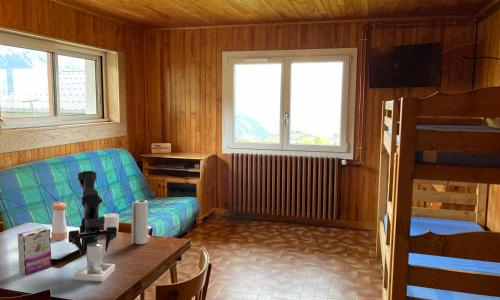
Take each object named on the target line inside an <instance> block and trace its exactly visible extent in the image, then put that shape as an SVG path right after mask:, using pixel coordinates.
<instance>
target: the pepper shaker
mask: <svg viewBox="0 0 500 300" xmlns="http://www.w3.org/2000/svg"><path fill="white" fill-rule="evenodd" d="M50 209H51V210H52V223H51V231H50V240H51V241H63V240H66V239H68V230H67V221H66V209H67V204H66V203H65V202H61V201H56V202H54V203H52V204H51V206H50Z"/></svg>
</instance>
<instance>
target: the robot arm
mask: <svg viewBox="0 0 500 300" xmlns="http://www.w3.org/2000/svg"><path fill="white" fill-rule="evenodd" d="M97 176H98V175H97V172H96V171H93V170H84V171H80V172H78V173H77V182H79V187H80V188H81V189H82V190H83V191H82V196H81V199H80V201H81V202H80V204H81V206H82V207H83V215H84V216H83V218H82V220H81V223H80V225H79V229H76V230H69V231H68V233H67V239H68V243H70V244H72V245H75V246H76V247H77V249H78V251H79V254H80V255H81V256H83V255H84V253H83V252H87V244H89V243H94V242H99V239H98V238H99V237H101V236H105V248H104V249H105V253H107V252H108V249H109V245H110V242H111V241H114V239H116V238H117V228H116V227H107V230H106V231H104V230H101V228H102V227H101V225H104V224H105V219H104V215H103V216H100V214H99V211H100V205H101V203H103V200H102V197H101V196H100V195H99V192H98V190H96V189H95V184H96V181H97V180H98V179H97ZM82 248H83V249H82Z"/></svg>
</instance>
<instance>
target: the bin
mask: <svg viewBox="0 0 500 300" xmlns="http://www.w3.org/2000/svg"><path fill="white" fill-rule="evenodd" d="M115 270H116V264H114V263H103V274H102V275H96V274H87V263H85V265H83V266H81V268H79V269H78V270H76V272H74V273H73V281H80V282H81V281H83V282H98V283H103V282H104V281H105V280H106V279H108V277H109V276H110V275H112V273H113V272H114V271H115Z"/></svg>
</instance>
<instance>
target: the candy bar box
mask: <svg viewBox="0 0 500 300" xmlns="http://www.w3.org/2000/svg"><path fill="white" fill-rule="evenodd" d="M51 241H52V239H51V228H48V227H45V226H44V227H39V228H35V229H32V230H28V231H24V232H21V233H17V247H18V248H17V249H18V267H19V270H18V271H19V273H20V274H21V275H24V276H27V275H31V274H33V273H36V272H37V273H38V272H40V271H43V270H45V269H48V268H50V267H52V248H51V247H52V246H51V243H52V242H51Z"/></svg>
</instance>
